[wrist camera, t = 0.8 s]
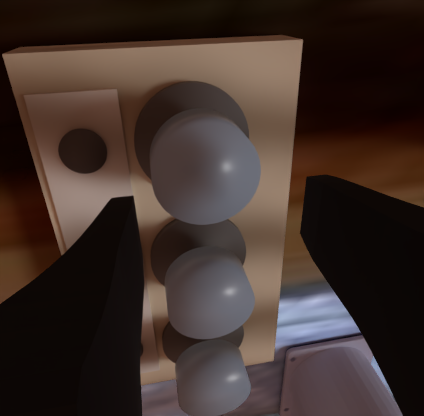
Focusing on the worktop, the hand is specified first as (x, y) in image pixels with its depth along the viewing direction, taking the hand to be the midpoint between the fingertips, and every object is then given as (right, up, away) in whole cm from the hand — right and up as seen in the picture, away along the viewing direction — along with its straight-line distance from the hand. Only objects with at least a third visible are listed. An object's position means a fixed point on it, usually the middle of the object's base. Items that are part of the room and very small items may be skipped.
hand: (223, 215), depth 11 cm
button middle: (-1, -3, +7) cm, 8 cm away
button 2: (-1, -9, +11) cm, 14 cm away
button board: (-3, -1, +11) cm, 11 cm away
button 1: (-1, +2, +4) cm, 5 cm away
